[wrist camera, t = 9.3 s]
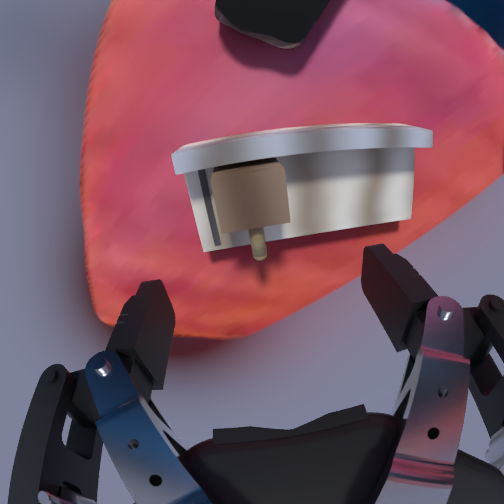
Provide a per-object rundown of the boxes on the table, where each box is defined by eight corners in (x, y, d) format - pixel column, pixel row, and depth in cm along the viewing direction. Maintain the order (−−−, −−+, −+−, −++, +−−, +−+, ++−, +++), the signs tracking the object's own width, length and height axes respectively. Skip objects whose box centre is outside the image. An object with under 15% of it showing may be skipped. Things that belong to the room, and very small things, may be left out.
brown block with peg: (273, 156, 22) (284, 168, 17) (283, 236, 26) (294, 264, 21) (214, 166, 22) (210, 180, 18) (230, 244, 26) (231, 274, 21)
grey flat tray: (400, 123, 23) (432, 130, 18) (399, 210, 28) (426, 230, 23) (183, 145, 23) (171, 154, 18) (205, 240, 28) (201, 269, 23)
